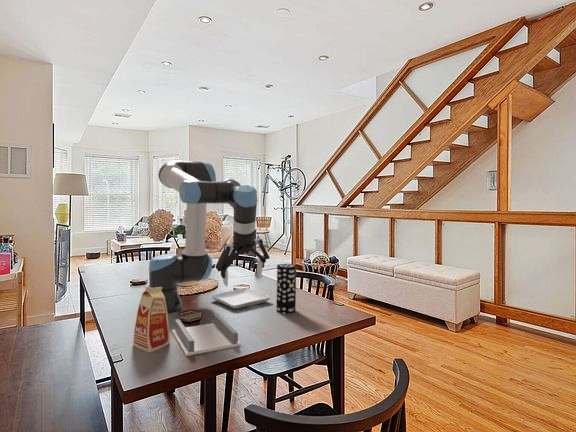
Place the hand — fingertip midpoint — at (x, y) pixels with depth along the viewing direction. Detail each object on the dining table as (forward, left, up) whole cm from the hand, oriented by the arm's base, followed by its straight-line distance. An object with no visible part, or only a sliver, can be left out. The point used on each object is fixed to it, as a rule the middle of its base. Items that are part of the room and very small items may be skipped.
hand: (242, 279), depth 137 cm
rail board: (+2, -15, -19) cm, 24 cm away
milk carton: (-1, -32, -19) cm, 37 cm away
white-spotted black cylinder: (-13, +25, -19) cm, 34 cm away
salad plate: (-34, +12, -20) cm, 41 cm away
